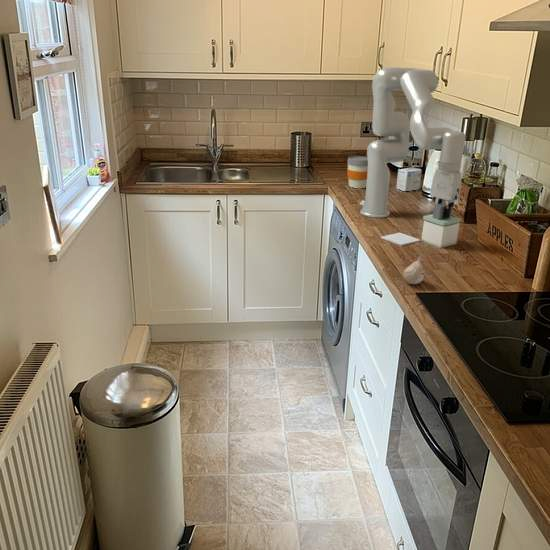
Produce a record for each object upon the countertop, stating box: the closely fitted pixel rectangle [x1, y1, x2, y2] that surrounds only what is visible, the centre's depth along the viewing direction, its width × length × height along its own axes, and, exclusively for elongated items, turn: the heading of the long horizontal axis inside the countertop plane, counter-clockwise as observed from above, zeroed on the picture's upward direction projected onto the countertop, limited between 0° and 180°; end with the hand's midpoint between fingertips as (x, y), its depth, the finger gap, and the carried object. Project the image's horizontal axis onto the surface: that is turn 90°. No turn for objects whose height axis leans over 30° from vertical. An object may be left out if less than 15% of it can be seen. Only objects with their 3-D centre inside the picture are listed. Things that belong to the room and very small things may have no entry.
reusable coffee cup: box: [346, 155, 368, 188], centre depth 286 cm, size 13×13×15 cm
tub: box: [420, 220, 460, 249], centre depth 207 cm, size 9×9×8 cm
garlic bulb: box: [402, 255, 425, 285], centre depth 170 cm, size 7×6×8 cm
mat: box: [380, 232, 421, 246], centre depth 211 cm, size 10×10×1 cm
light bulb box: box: [395, 167, 422, 192], centre depth 284 cm, size 11×7×11 cm, turn 124°
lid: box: [422, 201, 461, 226], centre depth 205 cm, size 9×9×7 cm
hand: (442, 216), depth 205 cm, fingers closed on lid, 2 cm apart
